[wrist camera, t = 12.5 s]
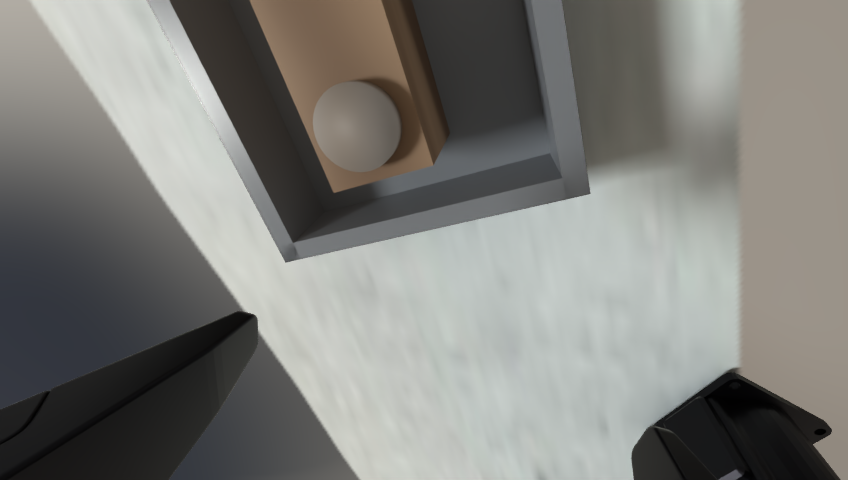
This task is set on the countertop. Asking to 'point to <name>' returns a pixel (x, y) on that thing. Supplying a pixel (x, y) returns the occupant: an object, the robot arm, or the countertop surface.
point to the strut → (358, 84)
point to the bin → (462, 103)
